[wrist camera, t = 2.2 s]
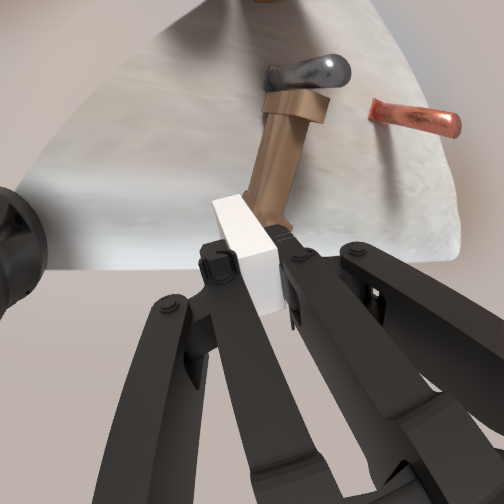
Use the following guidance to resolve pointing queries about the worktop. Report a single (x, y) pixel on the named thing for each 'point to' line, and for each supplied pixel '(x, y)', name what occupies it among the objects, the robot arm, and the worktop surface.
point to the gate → (281, 151)
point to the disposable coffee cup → (265, 0)
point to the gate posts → (338, 75)
